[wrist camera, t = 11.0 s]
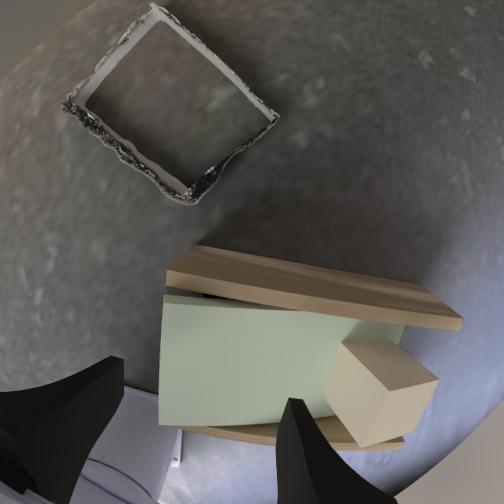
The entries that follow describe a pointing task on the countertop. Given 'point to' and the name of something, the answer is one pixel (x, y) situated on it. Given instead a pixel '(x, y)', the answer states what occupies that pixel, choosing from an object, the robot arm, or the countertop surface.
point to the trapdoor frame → (311, 300)
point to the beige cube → (378, 390)
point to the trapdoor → (248, 359)
